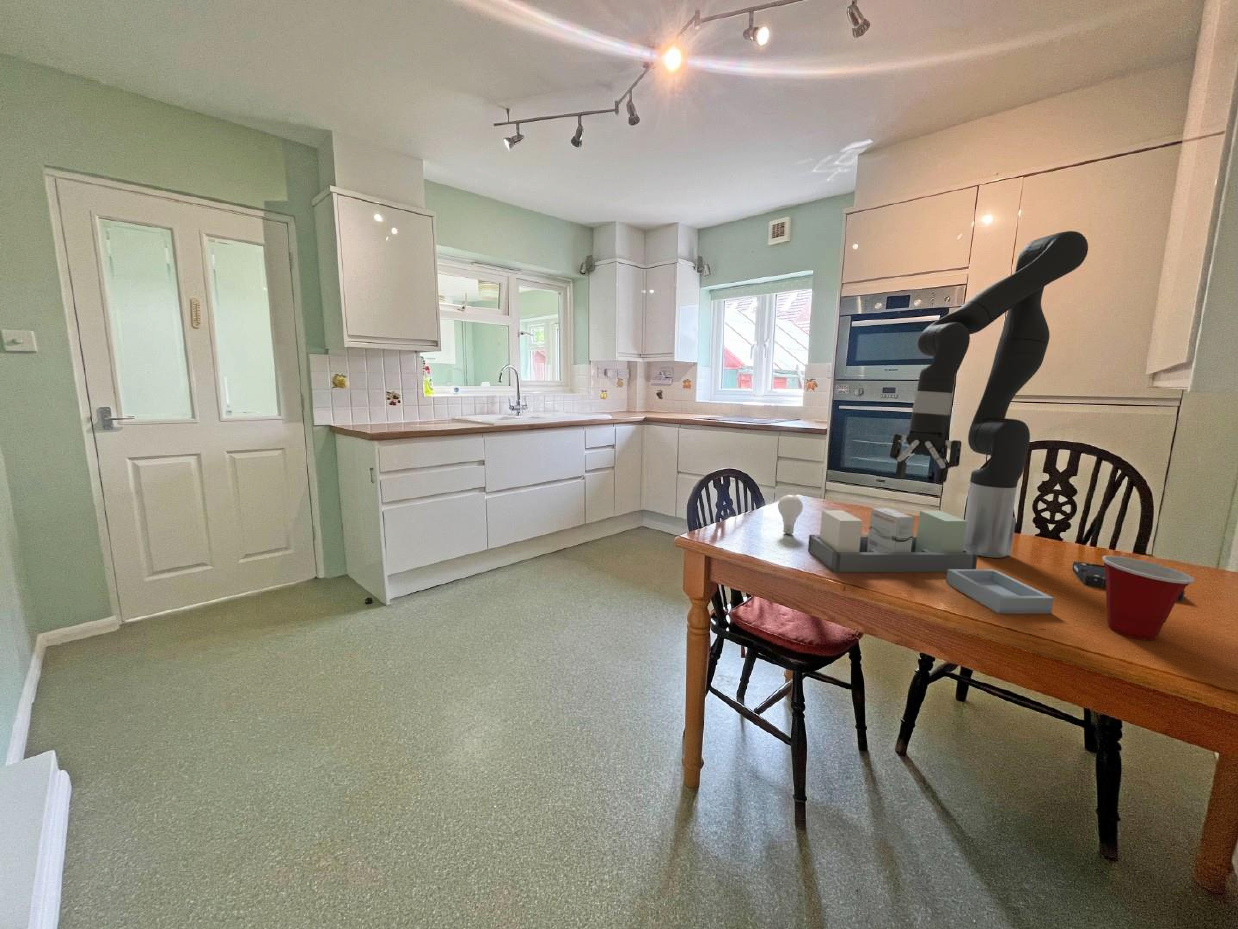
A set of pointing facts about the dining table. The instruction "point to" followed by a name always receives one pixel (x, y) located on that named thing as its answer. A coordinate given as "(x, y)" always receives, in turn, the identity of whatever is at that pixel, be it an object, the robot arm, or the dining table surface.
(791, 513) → the lightbulb
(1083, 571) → the disk drive
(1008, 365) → the robot arm
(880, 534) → the ink box
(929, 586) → the dining table surface
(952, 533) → the sage block
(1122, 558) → the plastic cup
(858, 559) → the holder
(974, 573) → the tray
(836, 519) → the cream block
